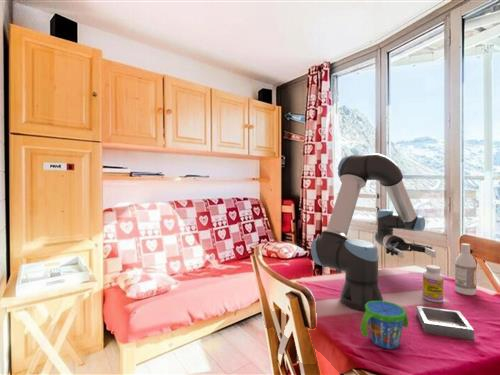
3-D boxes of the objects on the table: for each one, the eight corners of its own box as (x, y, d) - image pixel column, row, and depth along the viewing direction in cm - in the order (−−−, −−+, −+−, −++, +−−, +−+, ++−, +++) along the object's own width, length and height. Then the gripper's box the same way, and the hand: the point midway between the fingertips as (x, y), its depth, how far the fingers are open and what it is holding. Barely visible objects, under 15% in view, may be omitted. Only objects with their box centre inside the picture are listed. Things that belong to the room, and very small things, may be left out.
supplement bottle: (424, 301, 107) (424, 268, 107) (421, 294, 113) (421, 263, 113) (445, 304, 105) (445, 270, 104) (440, 297, 111) (441, 265, 111)
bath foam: (474, 297, 110) (475, 246, 110) (453, 292, 115) (453, 244, 115) (477, 292, 115) (477, 243, 115) (456, 287, 120) (457, 241, 120)
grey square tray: (424, 332, 86) (424, 322, 86) (416, 314, 97) (416, 305, 97) (474, 340, 81) (474, 330, 81) (459, 320, 93) (459, 311, 93)
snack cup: (394, 329, 88) (394, 297, 88) (422, 348, 78) (422, 312, 77) (350, 336, 84) (349, 303, 84) (373, 358, 74) (373, 320, 74)
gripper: (419, 250, 140) (448, 263, 119) (369, 251, 140) (389, 264, 119) (419, 235, 140) (448, 245, 118) (368, 236, 140) (389, 246, 119)
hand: (419, 255), depth 119 cm, fingers open, 13 cm apart
